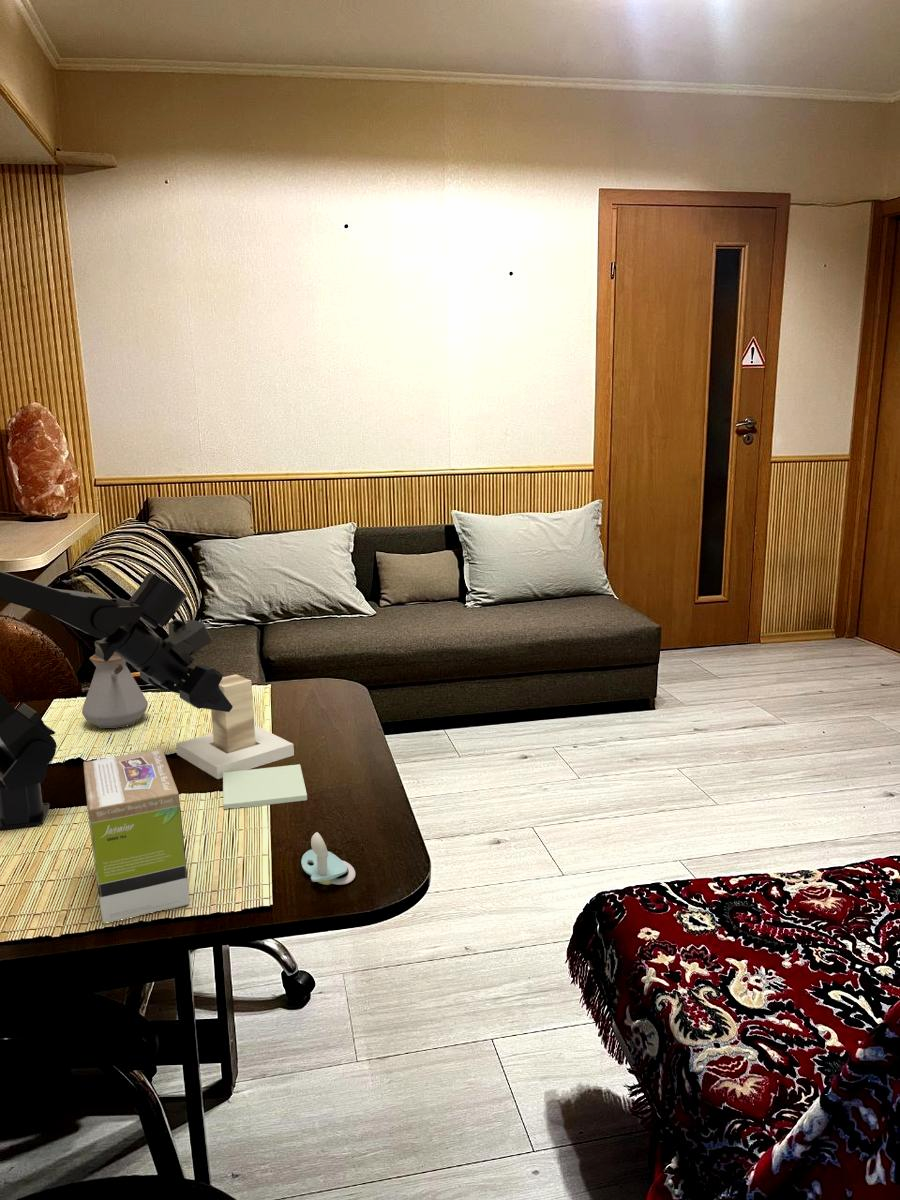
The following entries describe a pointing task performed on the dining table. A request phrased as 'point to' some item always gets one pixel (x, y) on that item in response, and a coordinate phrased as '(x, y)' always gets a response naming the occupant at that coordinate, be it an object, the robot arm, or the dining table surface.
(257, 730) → the pocket holder
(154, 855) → the tea box
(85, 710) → the coffee pot
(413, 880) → the dining table surface
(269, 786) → the sage mat
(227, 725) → the birch block
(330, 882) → the pacifier
